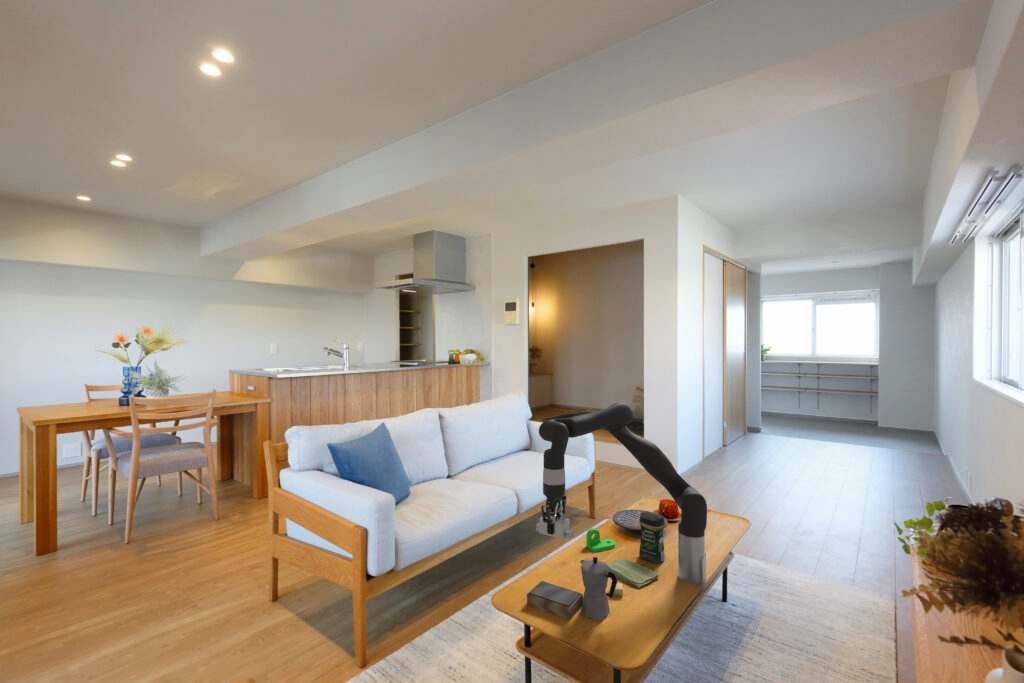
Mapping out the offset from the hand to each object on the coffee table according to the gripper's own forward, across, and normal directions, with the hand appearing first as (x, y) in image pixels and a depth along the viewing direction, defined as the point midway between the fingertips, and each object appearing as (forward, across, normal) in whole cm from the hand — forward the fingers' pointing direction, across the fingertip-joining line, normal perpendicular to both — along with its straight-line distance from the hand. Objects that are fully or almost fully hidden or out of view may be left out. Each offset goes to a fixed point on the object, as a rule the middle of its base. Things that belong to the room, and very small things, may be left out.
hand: (554, 530), depth 158 cm
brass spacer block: (+25, -18, +15) cm, 35 cm away
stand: (+25, 0, 0) cm, 25 cm away
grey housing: (+1, 0, 0) cm, 1 cm away
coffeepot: (+25, -3, +14) cm, 29 cm away
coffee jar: (+25, -51, +18) cm, 60 cm away
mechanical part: (+26, -50, -3) cm, 56 cm away
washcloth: (+26, -33, +15) cm, 45 cm away
